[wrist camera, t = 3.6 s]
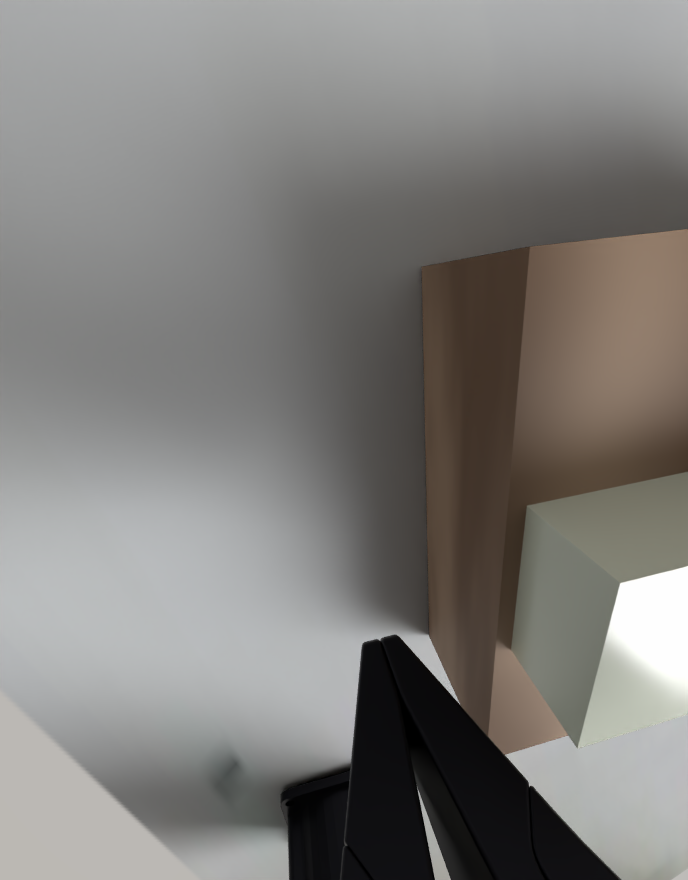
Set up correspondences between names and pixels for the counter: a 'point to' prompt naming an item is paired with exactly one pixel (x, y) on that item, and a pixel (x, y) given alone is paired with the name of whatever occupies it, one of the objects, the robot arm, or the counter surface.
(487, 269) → the brown wooden block
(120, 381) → the counter surface
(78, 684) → the counter surface
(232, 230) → the counter surface
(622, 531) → the tile sage
